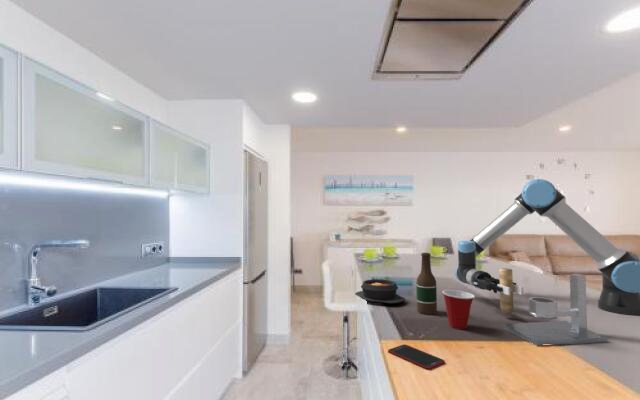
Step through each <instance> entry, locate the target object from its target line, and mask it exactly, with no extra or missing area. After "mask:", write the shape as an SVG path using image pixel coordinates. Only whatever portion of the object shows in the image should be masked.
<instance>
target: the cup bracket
mask: <svg viewBox="0 0 640 400" xmlns="http://www.w3.org/2000/svg"><path fill="white" fill-rule="evenodd" d="M586 277H587V276H586V274H582V273H581V274H580V273H569V289H570V291H569V292H570V293H569V295H570V308H565V309H563V308H562V309H559V308H558V300H555V299H552V298H550V297H548V298H547V297H541V296H535V297H534V296H533V297H532V296H531V297H529V298H528V313H529V315H530V316H532V317H534V318H538V319H545V320H554V319H555V320H556V319H558V318H562V317H570V322H569V321H566V320H561V321H560V320H559V321H558V320H557V321H538V322H518V323H517V322H516V323H514V322H513V323H502V329H503V330H505V331H507V332H509V333H511V335H512V334H513V335H514V334H515V336H516V337H519V338H520V339H523V340H524V341H526V340H527V341H526V342H528V341H529V342H528V343H530V342H531V343H533V344H535V345H543V344H557V345H556V346H560V345H561V346H562V345H577V344H578V345H581V344H593V343H594V344H596V343H608V336H605V335H602V334H600V333H597V332H595V331H592V330H589V329H588V317H587V316H588V313H587V312H588V310H587V281H586V280H587V279H586ZM531 343H530V344H531ZM533 344H532V345H533ZM535 345H534V346H535Z"/></svg>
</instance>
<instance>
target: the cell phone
mask: <svg viewBox="0 0 640 400" xmlns="http://www.w3.org/2000/svg"><path fill="white" fill-rule="evenodd" d="M387 353H388V354H391V355H393V356H395V357H397V358H398V359H401V360H404V361H405V362H409V363H411V364H412V365H414V366H417V367H419V368H421V369H424V370H427V371H431V370H434V369H436V368H439V367H441V366H443V365H445V364H446V361H445V360H444V359H442V358H440V357H438V356H435V355H433V354H430V353H428V352H426V351H422V350H421V349H419V348H415V347H413V346H411V345H408V344H401V345H398V346H395V347H392V348H390V349H387Z"/></svg>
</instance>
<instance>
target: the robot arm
mask: <svg viewBox="0 0 640 400" xmlns="http://www.w3.org/2000/svg"><path fill="white" fill-rule="evenodd" d="M566 200H567V199H566V196H565V195H564V194H563V193H561V192H560V190H558V189H557V188H556V187H555V185H553V183H552V182H550V181H549V180H545V179H543V178H542V179H541V178H536V179H532V180H530V181H528V182H526V184H525V185H523V187H522V189H521V193H520V194H519V195H518V196H516V197H515V198H514V201H513V202H514V203H512V204H510V205H509V206H508V207H507V208H506V209H505V210H504V211H503V212H501V213H500V215H498V216H497V217H496V218H494V220H492V221H491V222H490V223H489V224H487V225H486V226H485V227H484V228H483V229H482V230H481V231H479V232H478V233H477V234H476V235H474V237H472V238H471V239H470V240H460V241H458V242H457V257H458V258H457V259H458V266H457V267H455V269H454V276H455V278H456V280H458V281H460V282H461V283H464V284H467V285H468V286H472V287H474V288H476V289H480V290H486V291H490V292H491V291H493V293H494V294H497V293H498V292H499V293H500V292H501V293H504V294H506V295H511V293H510V288H509V287H506V286H503V285H500V278H495V277H494V276H492V275H491V274H490V273H489V272H488V271H483V270H480V269H477V263H476V262H477V257H478V256H479V255H480V254H481V253H483V252H484V251H485V250H486V249H488V247H490V246H491V245H492V244H494V242H496V241H497V240H498V239H500V237H502V236H503V235H504V234H506V233H507V232H508V231H510V229H511V228H513V227H514V226H516V224H517V223H519V222H520V221H521V220H523V219H524V218H525V217H526V216H527V215H533V213H535V212H536V214H538V215H539V216H540V217H543V218H544V217H546V218H548V219H549V220H550V221H551V222H552V223H553V224H554V225H556V226H557V227H558V228H559V229H560V230H561V231H562V232H563V233H564V234H565V235H566V236H567V237H569V239H571V241H573V242H574V243H575V244H576V245H577V246H578V247H580V249H582V250H583V251H584V252H585V254H588V256H589V257H590V258H591V259H593V261H595V262H596V269H598V270H599V272H600V273H601V274H602V275H601V279H602V280H601V281H602V282H601V283H602V290H601V293H600V295H599V299H598V300H597V307H598V308H599V309H601V310H603V311H607V312H612V313H617V314H623V315H632V316H640V258H639V255H638V254H636V253H633V254H632V253H630V252H629V251H628V250H626V249H622V248H621V249H620V248H618V247H616V246H615V245H614V244H613V243H612V242H611V241H609V240H608V239H607V238H606V236H604V235H603V234H602V233H601V232H599V231H598V230H597V229H596V228H595V227H594V226H592V224H591V223H589V222H588V221H587V220H586V219H585V218H584V217H582V216H581V215H580V214H579V213H578V212H577V211H575V210H574V209H573V208H572V207H571V206H570V205H569V204H567V202H566ZM513 293H515V294H519V295H520V296H521V295H523V296H524V287H523V286H520V285H517V282H514V281H513Z"/></svg>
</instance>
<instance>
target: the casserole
mask: <svg viewBox="0 0 640 400" xmlns="http://www.w3.org/2000/svg"><path fill="white" fill-rule="evenodd" d="M360 287H361V290H360V291H356V292H355V293H354V295H355V296H358V297H359V298H360V299H362V300H365V301H367V302H369V303H372V304H373V303H374V304H397V303H402V302H404V301H406V298H405V297H403V296H401V295H399V294H397V290H398V289H399V287H398V286H397V283H396V282H395V281H394V280H390V279H384V278H383V279H382V278H381V279H380V278H379V279H378V278H375V279H373V278H372V279H367V280H364V281H362V284H361V286H360Z"/></svg>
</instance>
